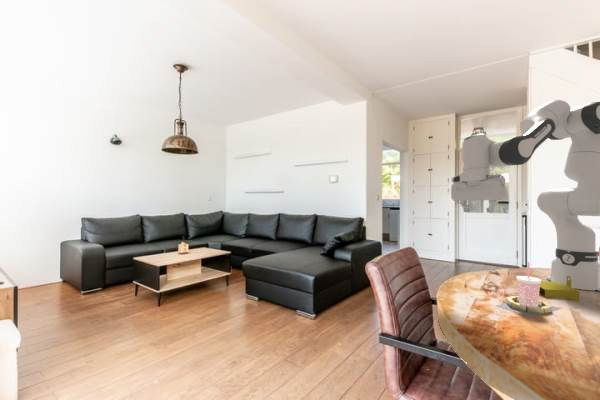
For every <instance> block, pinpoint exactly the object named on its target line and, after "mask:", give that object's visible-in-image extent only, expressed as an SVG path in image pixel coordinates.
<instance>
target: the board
mask: <svg viewBox="0 0 600 400" xmlns="http://www.w3.org/2000/svg"><path fill="white" fill-rule="evenodd" d="M516 303H519V302H516ZM551 306H552V312H555V311H557V310H561V309H562V308H561V307H557V306H554V305H551ZM496 307H499V308H501V309H504V310H507V311H511V312H513V313H517V314H520V315H522V316H525V317H528V318H532V319H534V318H537V317H540V316H543V315H544V314H536V313H528V312H524V311H521V310H518V309H514V308H512V307H510V306H509V305H508V304H507V303H506V302H505V303H501V304H498V305H496ZM538 307H541V306H538Z"/></svg>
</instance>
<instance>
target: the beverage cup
mask: <svg viewBox="0 0 600 400" xmlns="http://www.w3.org/2000/svg"><path fill="white" fill-rule="evenodd" d="M515 278H516V282H517V294H518V295H517V296H519V304H523V305H526V306H533V307H538V302H539V300H540V291H539V290H540V283H541V281H542V279H541V278H538V277H533V276H530V261H529V262H527V275H517V276H516V277H515Z"/></svg>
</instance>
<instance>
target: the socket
mask: <svg viewBox="0 0 600 400" xmlns="http://www.w3.org/2000/svg"><path fill="white" fill-rule="evenodd" d="M505 301H506V302H505V303H507V304H508V305H509V306H510V307H512V308H514V309H518V310H521V311H524V312H528V313H536V314H543V315H546V314H547V315H548V314H550V313H553V311H552V306H553V305H552V304H550V303H548V302H547V301H545V300H541V299H539V302H538V306H541V307H533V306H526V305H523V304H519V303H516V302H519V296H518V295H512V296H508V297H506V299H505Z"/></svg>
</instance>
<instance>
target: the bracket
mask: <svg viewBox="0 0 600 400" xmlns="http://www.w3.org/2000/svg"><path fill="white" fill-rule="evenodd" d="M568 277H569V278H570V280H568ZM540 291H541V292H543V291H544V297H545V298H559V299H560V298H563V299H567V300H570V301H575V302H580V289H576V288H571V277H570V276H567V280H566V285H564V284H561V283H559V282H552V281H550V280H547V281H546V280H541V283H540V290H539V292H540Z"/></svg>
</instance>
